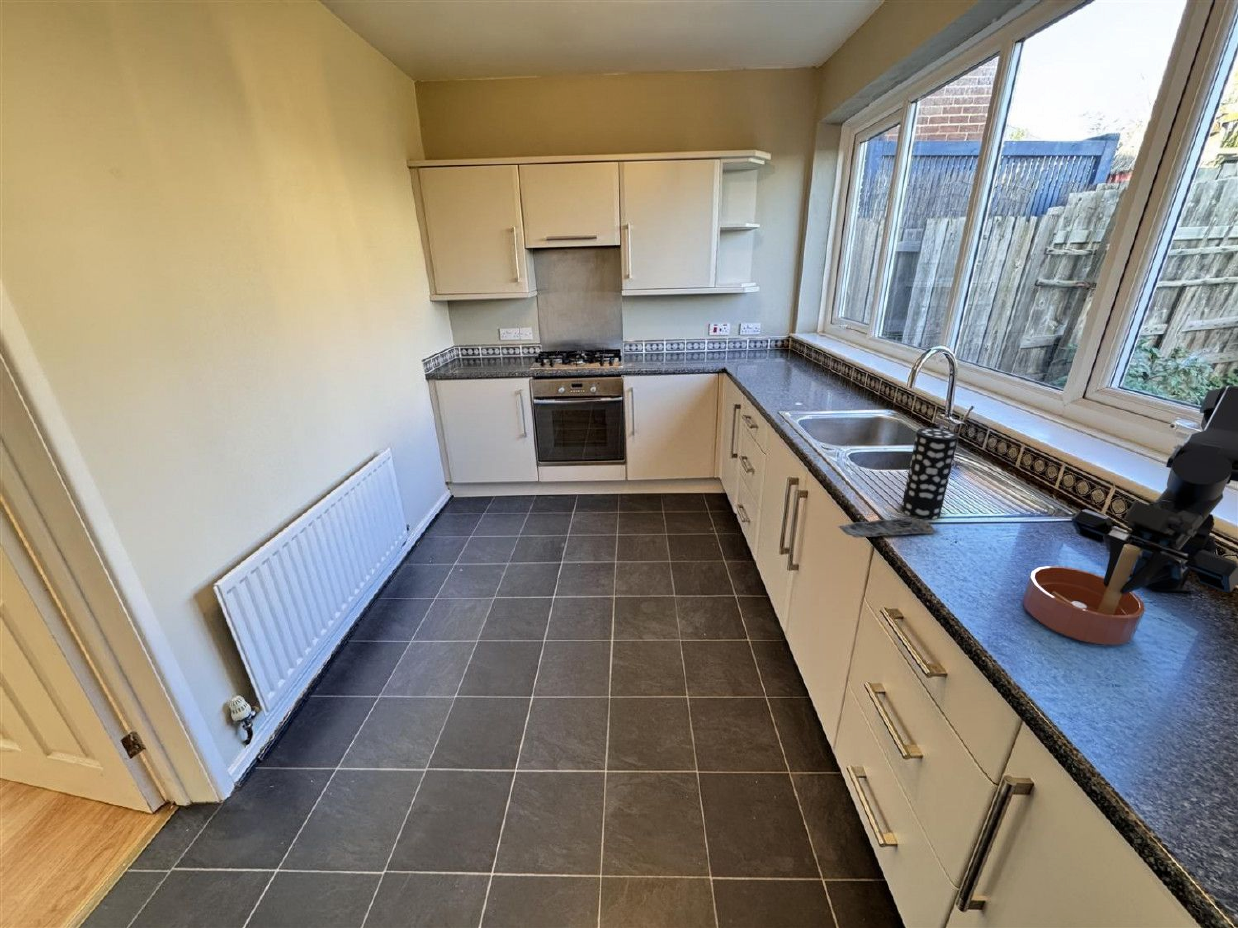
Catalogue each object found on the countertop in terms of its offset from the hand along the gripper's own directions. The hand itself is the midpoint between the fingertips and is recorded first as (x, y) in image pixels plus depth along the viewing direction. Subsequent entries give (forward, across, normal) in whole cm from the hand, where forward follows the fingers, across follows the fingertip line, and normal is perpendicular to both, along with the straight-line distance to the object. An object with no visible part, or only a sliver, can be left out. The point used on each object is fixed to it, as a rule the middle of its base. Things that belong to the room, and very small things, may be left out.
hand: (1113, 588), depth 79 cm
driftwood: (+7, -39, +6) cm, 40 cm away
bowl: (+5, -4, +8) cm, 10 cm away
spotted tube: (-4, -42, +17) cm, 46 cm away
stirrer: (+4, -4, +7) cm, 9 cm away
